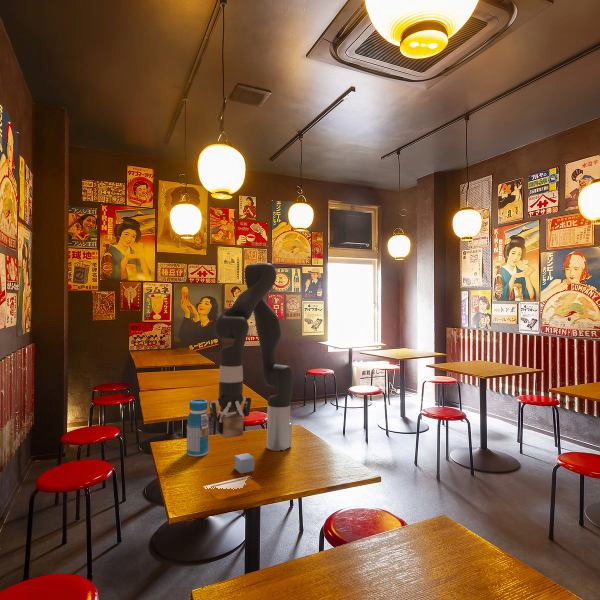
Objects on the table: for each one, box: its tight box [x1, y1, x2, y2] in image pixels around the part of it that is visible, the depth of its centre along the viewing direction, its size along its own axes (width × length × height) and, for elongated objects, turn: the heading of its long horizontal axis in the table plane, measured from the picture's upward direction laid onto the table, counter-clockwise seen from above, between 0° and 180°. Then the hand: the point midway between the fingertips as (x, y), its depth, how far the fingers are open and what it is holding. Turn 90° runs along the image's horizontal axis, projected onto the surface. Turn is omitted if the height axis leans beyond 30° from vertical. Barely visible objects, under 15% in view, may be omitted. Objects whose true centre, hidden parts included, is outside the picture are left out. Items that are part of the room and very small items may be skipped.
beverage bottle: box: [186, 398, 210, 457], centre depth 163 cm, size 8×8×20 cm
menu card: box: [203, 475, 251, 490], centre depth 134 cm, size 16×11×1 cm
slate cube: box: [234, 452, 255, 474], centre depth 148 cm, size 5×5×5 cm
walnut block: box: [217, 411, 244, 439], centre depth 136 cm, size 6×6×6 cm
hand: (230, 431), depth 136 cm, fingers closed on walnut block, 6 cm apart
